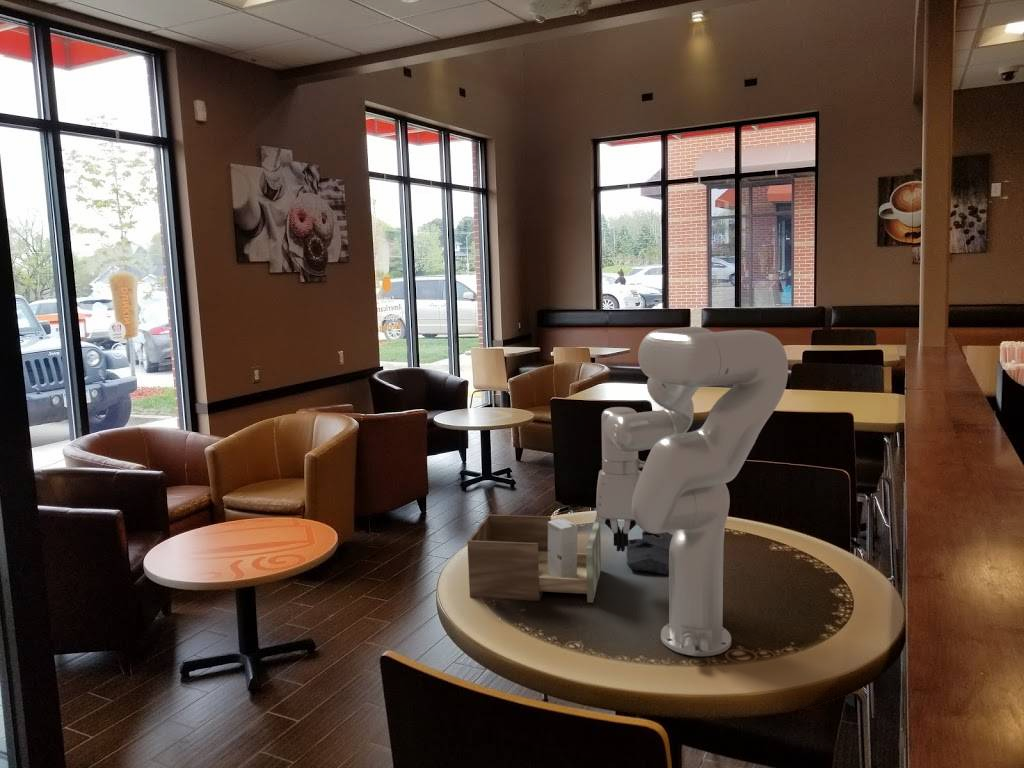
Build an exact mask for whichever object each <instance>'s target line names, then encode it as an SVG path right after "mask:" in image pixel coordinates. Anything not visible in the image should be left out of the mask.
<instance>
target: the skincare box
mask: <svg viewBox="0 0 1024 768" xmlns="http://www.w3.org/2000/svg"><path fill="white" fill-rule="evenodd" d="M577 553H578V525H576V524H575V523H573V522H572V521H569V520H567V519H566V518H563V517H562V518H558V519H553V520H552V519H551V521H549V522H548V574H550V575H551V576H552V577H563V578H577Z"/></svg>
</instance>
